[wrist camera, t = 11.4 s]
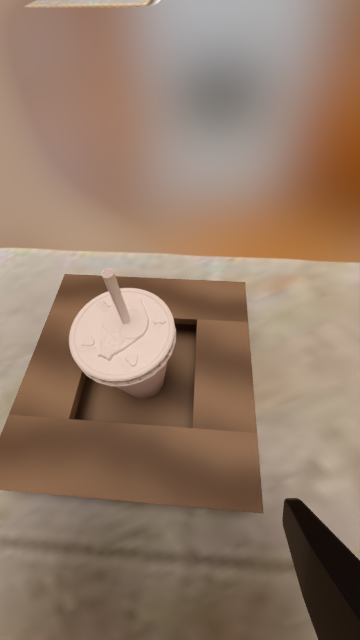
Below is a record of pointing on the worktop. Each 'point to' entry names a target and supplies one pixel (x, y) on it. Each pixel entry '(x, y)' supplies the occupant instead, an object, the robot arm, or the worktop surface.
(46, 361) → the walnut box
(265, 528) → the worktop surface
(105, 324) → the smoothie
